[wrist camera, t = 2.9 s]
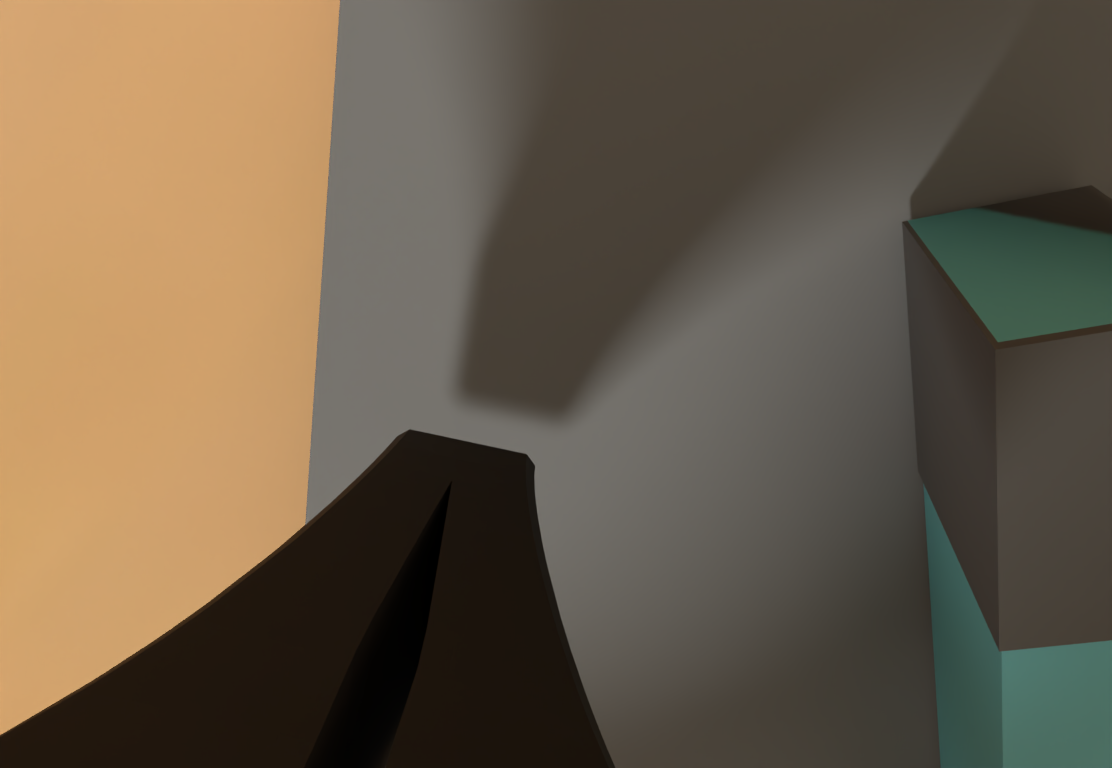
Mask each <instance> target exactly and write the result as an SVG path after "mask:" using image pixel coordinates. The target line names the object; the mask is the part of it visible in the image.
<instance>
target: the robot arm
mask: <svg viewBox="0 0 1112 768" xmlns="http://www.w3.org/2000/svg"><path fill="white" fill-rule="evenodd" d="M534 474H535V465H534V463H533V462H532V461H531V459H530V458H529V456H528V455H527V454H524V453H520V452H515V451H510V450H505V449H501V448H496V447H491V446H487V445H482V444H477V443H472V442H468V441H463V440H458V439H454V438H449V437H444V436H440V435H435V434H430V433H425V432H421V431H416V430H411V429H409V430H407V431H405V432H404V433H402V434H400V435H398V436H397V437H396V438H395V439H394V440H393V441H392V443H391V444H390V445H389V446H388V447H387V448H386V449H385V450H384V451H383V452H382V453H381V454H380V455H379V456H378V457H377V459H376V460H375V461H374V462H373V463H372V464H371V465H370V466H369V467H368V468H367V469H366V470H365V471H364V472H363V473H362V474H361V475H360V476H359V477H357V478H356V479H355V480H354V481H353V482H352V483H351V484H350V485H349V486H348V487H347V488H346V489H345V490H344V491H343V492H342V493H341V494H340V495H338V496H337V497H336V498H335V499H334V500H333V501H332V502H331V503H330V504H329V505H327V506H326V507H325V508H324V509H323V510H322V511H321V512H319V513H318V514H317V515H316V516H315V517H314V518H313V519H311V520H310V521H309V522H308V523H307V524H306V525H305V526H303V527H302V528H301V529H300V530H299V531H298V532H297V533H295V534H294V535H293V536H292V537H291V538H290V539H289V540H287V541H286V542H285V543H284V544H283V545H281V546H280V547H279V548H278V549H277V550H275V551H274V552H273V553H272V554H271V555H269V556H268V557H267V558H265V559H264V560H263V561H262V562H260V563H259V564H258V565H256V566H255V567H254V568H252V569H251V570H250V571H249V572H247V573H246V574H245V575H243V576H242V577H241V578H240V579H238V580H237V581H236V582H234V583H233V584H232V585H230V586H229V587H228V588H227V589H225V590H224V591H223V592H221V593H220V594H219V595H218V596H216V597H215V598H214V599H212V600H211V601H210V602H208V603H207V604H206V605H204V606H203V607H202V608H200V609H199V610H197V611H196V612H195V613H193V614H192V615H190V616H189V617H188V618H186V619H185V620H183V621H182V622H181V623H179V624H178V625H176V626H175V627H173V628H172V629H171V630H169V631H168V632H166V633H165V634H163V635H162V636H160V637H159V638H157V639H156V640H154V641H153V642H152V643H150V644H149V645H147V646H146V647H144V648H142V649H141V650H139V651H138V652H136V653H135V654H133V655H132V656H130V657H129V658H127V659H126V660H124V661H122V662H121V663H119V664H118V665H116V666H115V667H113V668H112V669H110V670H109V671H107V672H106V673H104V674H102V675H101V676H99V677H98V678H96V679H94V680H93V681H91V682H90V683H88V684H86V685H85V686H83V687H81V688H80V689H78V690H76V691H74V692H73V693H71V694H69V695H68V696H66V697H64V698H63V699H61V700H59V701H58V702H56V703H54V704H53V705H51V706H49V707H47V708H46V709H44V710H42V711H41V712H39V713H37V714H36V715H34V716H32V717H31V718H29V719H27V720H26V721H24V722H22V723H20V724H19V725H17V726H15V727H14V728H12V729H10V730H9V731H7V732H5V733H3V734H2V735H0V768H615V765H614V763H613V761H612V759H611V756H610V754H609V752H608V749H607V747H606V745H605V742H604V740H603V737H602V735H601V732H600V730H599V727H598V724H597V722H596V719H595V717H594V714H593V711H592V709H591V706H590V703H589V701H588V698H587V695H586V693H585V690H584V687H583V684H582V681H581V678H580V675H579V672H578V669H577V667H576V664H575V661H574V658H573V655H572V652H571V649H570V646H569V643H568V639H567V636H566V633H565V629H564V626H563V623H562V620H561V616H560V612H559V609H558V605H557V601H556V597H555V593H554V590H553V586H552V582H551V578H550V574H549V570H548V567H547V562H546V557H545V553H544V548H543V543H542V538H541V532H540V526H539V521H538V514H537V507H536V498H535V480H534Z"/></svg>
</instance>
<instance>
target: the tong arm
mask: <svg viewBox="0 0 1112 768" xmlns="http://www.w3.org/2000/svg"><path fill="white" fill-rule="evenodd" d="M902 230H903V245H904V261H905V277H906V292H907V308H908V324H909V339H910V355H911V371H912V386H913V402H914V418H915V433H916V449H917V464H918V472H919V475H920V477H921V479H922V481H923V486H924V502H925V519H926V535H927V551H928V568H929V584H930V601H931V617H932V634H933V650H934V666H935V683H936V699H937V716H938V732H939V749H940V765H941V768H1112V199H1111V198H1109V197H1108V196H1106V195H1105V194H1104V193H1102V192H1101V191H1099V190H1098V189H1096V188H1095V187H1094V186H1092V185H1089V186H1084V187H1079V188H1074V189H1069V190H1064V191H1058V192H1053V193H1048V194H1043V195H1038V196H1032V197H1027V198H1022V199H1017V200H1012V201H1006V202H1001V203H996V204H991V205H986V206H981V207H975V208H970V209H965V210H960V211H955V212H949V213H944V214H939V215H934V216H929V217H923V218H918V219H913V220H908V221H903V222H902Z"/></svg>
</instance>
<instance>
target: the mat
mask: <svg viewBox="0 0 1112 768" xmlns="http://www.w3.org/2000/svg"><path fill="white" fill-rule="evenodd" d="M1089 185H1092V186H1094V187H1095V188H1096V189H1098V190H1099V191H1101V192H1102V193H1104V194H1105V195H1106V196H1108V197H1109V198H1111V199H1112V0H340V10H339V26H338V41H337V56H336V71H335V86H334V101H333V116H332V131H331V146H330V161H329V177H328V192H327V207H326V222H325V237H324V252H323V267H322V282H321V297H320V313H319V328H318V343H317V358H316V373H315V388H314V403H313V418H312V433H311V449H310V464H309V479H308V494H307V509H306V524H307V523H308V522H309V521H310V520H311V519H313V518H314V517H315V516H316V515H317V514H318V513H319V512H321V511H322V510H323V509H324V508H325V507H326V506H327V505H329V504H330V503H331V502H332V501H333V500H334V499H335V498H336V497H337V496H338V495H340V494H341V493H342V492H343V491H344V490H345V489H346V488H347V487H348V486H349V485H350V484H351V483H352V482H353V481H354V480H355V479H356V478H357V477H359V476H360V475H361V474H362V473H363V472H364V471H365V470H366V469H367V468H368V467H369V466H370V465H371V464H372V463H373V462H374V461H375V460H376V459H377V457H378V456H379V455H380V454H381V453H382V452H383V451H384V450H385V449H386V448H387V447H388V446H389V445H390V444H391V443H392V441H393V440H394V439H395V438H396V437H397V436H398V435H400V434H402V433H404V432H405V431H407V430H409V429H411V430H416V431H421V432H425V433H430V434H435V435H440V436H444V437H449V438H454V439H458V440H463V441H468V442H472V443H477V444H482V445H487V446H491V447H496V448H501V449H505V450H510V451H515V452H520V453H524V454H527V455H528V456H529V458H530V459H531V461H532V462H533V463H534V465H535V474H534V480H535V498H536V507H537V514H538V521H539V526H540V532H541V538H542V543H543V548H544V553H545V557H546V562H547V567H548V570H549V574H550V578H551V582H552V586H553V590H554V593H555V597H556V601H557V605H558V609H559V612H560V616H561V620H562V623H563V626H564V629H565V633H566V636H567V639H568V643H569V646H570V649H571V652H572V655H573V658H574V661H575V664H576V667H577V669H578V672H579V675H580V678H581V681H582V684H583V687H584V690H585V693H586V695H587V698H588V701H589V703H590V706H591V709H592V711H593V714H594V717H595V719H596V722H597V724H598V727H599V730H600V732H601V735H602V737H603V740H604V742H605V745H606V747H607V749H608V752H609V754H610V756H611V759H612V761H613V763H614V765H615V768H941V765H940V749H939V732H938V716H937V699H936V683H935V666H934V650H933V634H932V617H931V601H930V584H929V568H928V551H927V535H926V519H925V502H924V486H923V481H922V479H921V477H920V475H919V472H918V464H917V449H916V433H915V418H914V402H913V386H912V371H911V355H910V339H909V324H908V308H907V292H906V277H905V261H904V245H903V230H902V222H903V221H908V220H913V219H918V218H923V217H929V216H934V215H939V214H944V213H949V212H955V211H960V210H965V209H970V208H975V207H981V206H986V205H991V204H996V203H1001V202H1006V201H1012V200H1017V199H1022V198H1027V197H1032V196H1038V195H1043V194H1048V193H1053V192H1058V191H1064V190H1069V189H1074V188H1079V187H1084V186H1089ZM306 524H305V525H306Z"/></svg>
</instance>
